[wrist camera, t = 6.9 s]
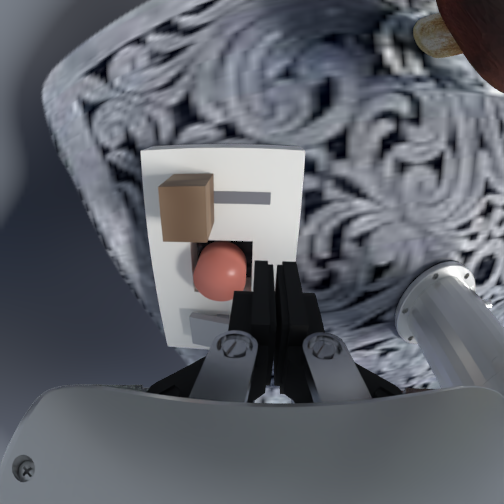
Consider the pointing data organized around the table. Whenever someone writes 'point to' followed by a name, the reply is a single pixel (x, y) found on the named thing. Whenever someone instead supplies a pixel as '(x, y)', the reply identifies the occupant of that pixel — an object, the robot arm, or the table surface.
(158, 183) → the control panel
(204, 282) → the red button
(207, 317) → the grey rocker
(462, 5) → the decorative mushroom
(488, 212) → the table surface
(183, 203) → the walnut slider
